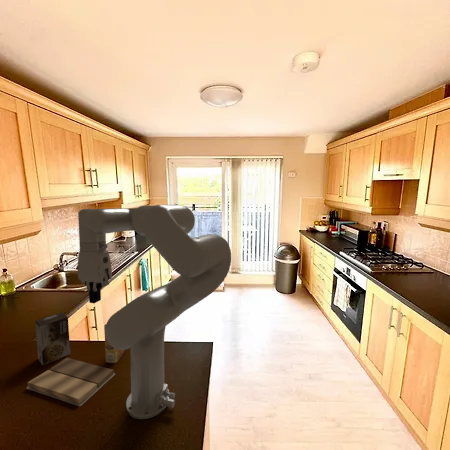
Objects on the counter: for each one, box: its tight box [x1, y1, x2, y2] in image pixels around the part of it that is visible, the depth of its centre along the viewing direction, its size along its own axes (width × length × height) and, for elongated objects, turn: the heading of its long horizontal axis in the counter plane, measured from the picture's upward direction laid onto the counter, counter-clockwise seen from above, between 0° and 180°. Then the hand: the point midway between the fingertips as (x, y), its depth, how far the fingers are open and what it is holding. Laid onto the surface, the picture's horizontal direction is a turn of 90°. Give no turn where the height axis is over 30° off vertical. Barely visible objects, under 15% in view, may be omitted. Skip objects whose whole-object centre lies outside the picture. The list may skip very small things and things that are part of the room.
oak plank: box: [27, 369, 97, 404], centre depth 76 cm, size 21×6×2 cm, turn 73°
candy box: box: [103, 323, 127, 364], centre depth 92 cm, size 9×4×15 cm, turn 176°
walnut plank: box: [49, 357, 115, 388], centre depth 83 cm, size 21×6×2 cm, turn 73°
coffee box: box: [34, 312, 71, 366], centre depth 91 cm, size 9×6×16 cm
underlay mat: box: [26, 372, 116, 407], centre depth 79 cm, size 22×14×1 cm, turn 73°
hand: (95, 301), depth 79 cm, fingers closed
